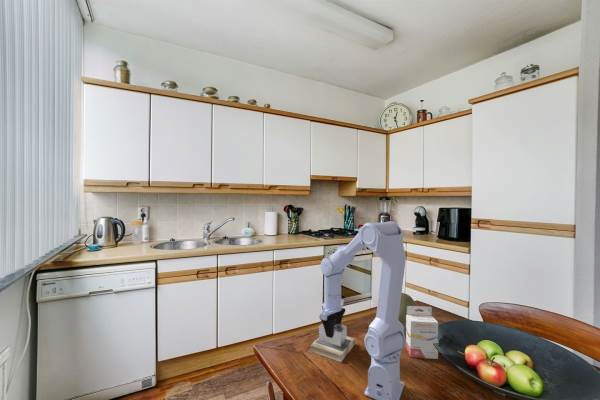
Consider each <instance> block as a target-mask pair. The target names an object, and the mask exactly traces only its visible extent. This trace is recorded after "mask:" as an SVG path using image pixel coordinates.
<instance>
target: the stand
mask: <svg viewBox="0 0 600 400" xmlns="http://www.w3.org/2000/svg"><path fill="white" fill-rule="evenodd" d="M355 345H356V339H355V337H351V336H348V335H347V341H346V342H345V344H344V345H343V346H342V347H341V348H339V347H336V346H333V345H330V344H327V343H324V342H321V341H319V337H318V338H317V339H315V340H314V341H313V342H312V343H311V344H310V346H309V347H310V348H309V349H310V351H309V352H311V353H313V354H317V355H320V356H322V357H325V358H328V359H330V360H334V361H336V362H339V363H342V362H343V360H344V359H345V358H346V356H347V355H348V354H349V353H350V352H351V350H352V349H353V348H354V346H355Z"/></svg>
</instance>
